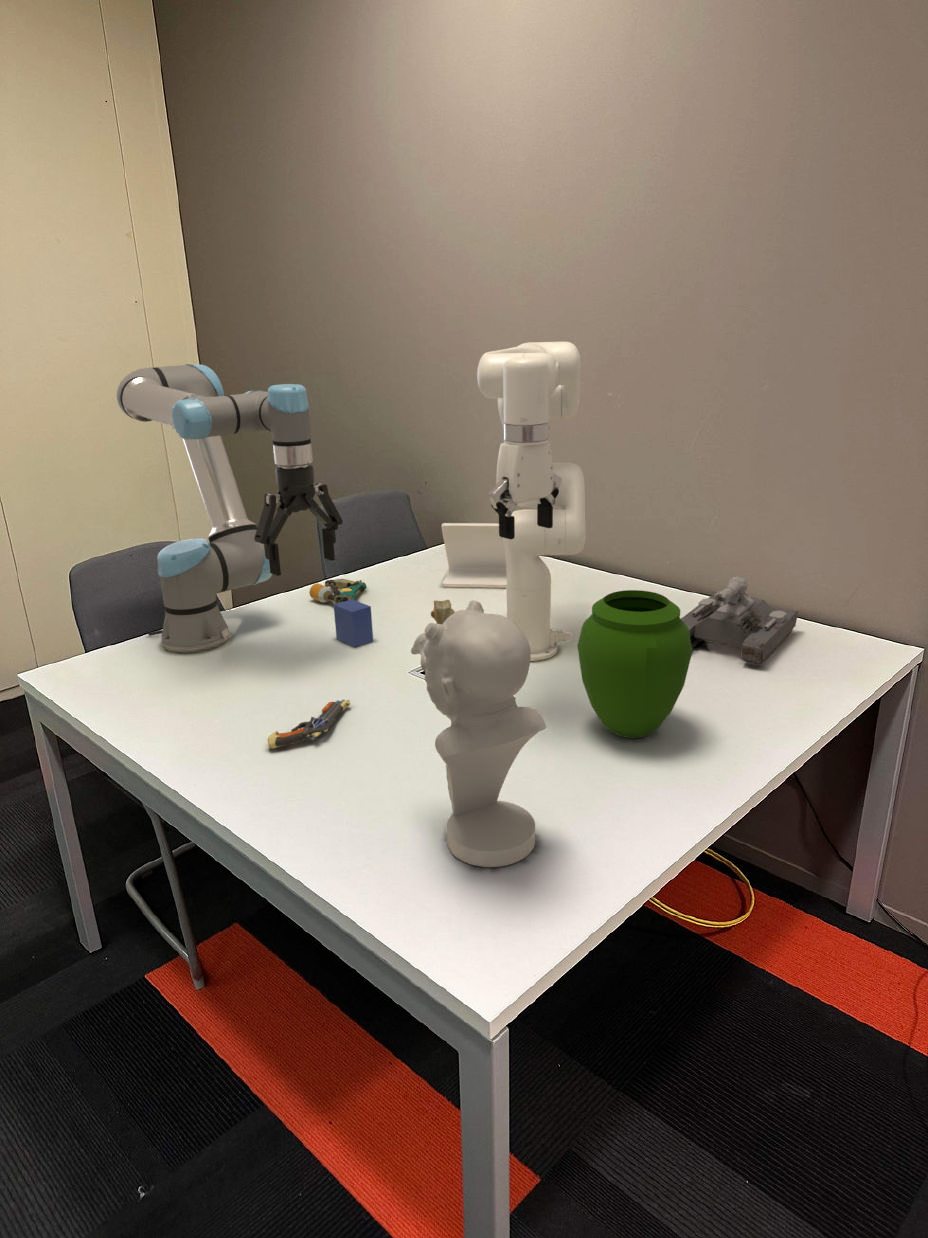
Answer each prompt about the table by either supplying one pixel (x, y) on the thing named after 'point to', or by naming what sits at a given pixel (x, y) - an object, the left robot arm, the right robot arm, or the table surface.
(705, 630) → the toy
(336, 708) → the toy gun
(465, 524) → the tablet stand
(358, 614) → the block
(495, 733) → the bust sculpture
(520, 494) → the right robot arm
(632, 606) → the vase
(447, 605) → the sculpture
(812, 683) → the table surface
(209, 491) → the left robot arm
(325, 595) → the spray gun
